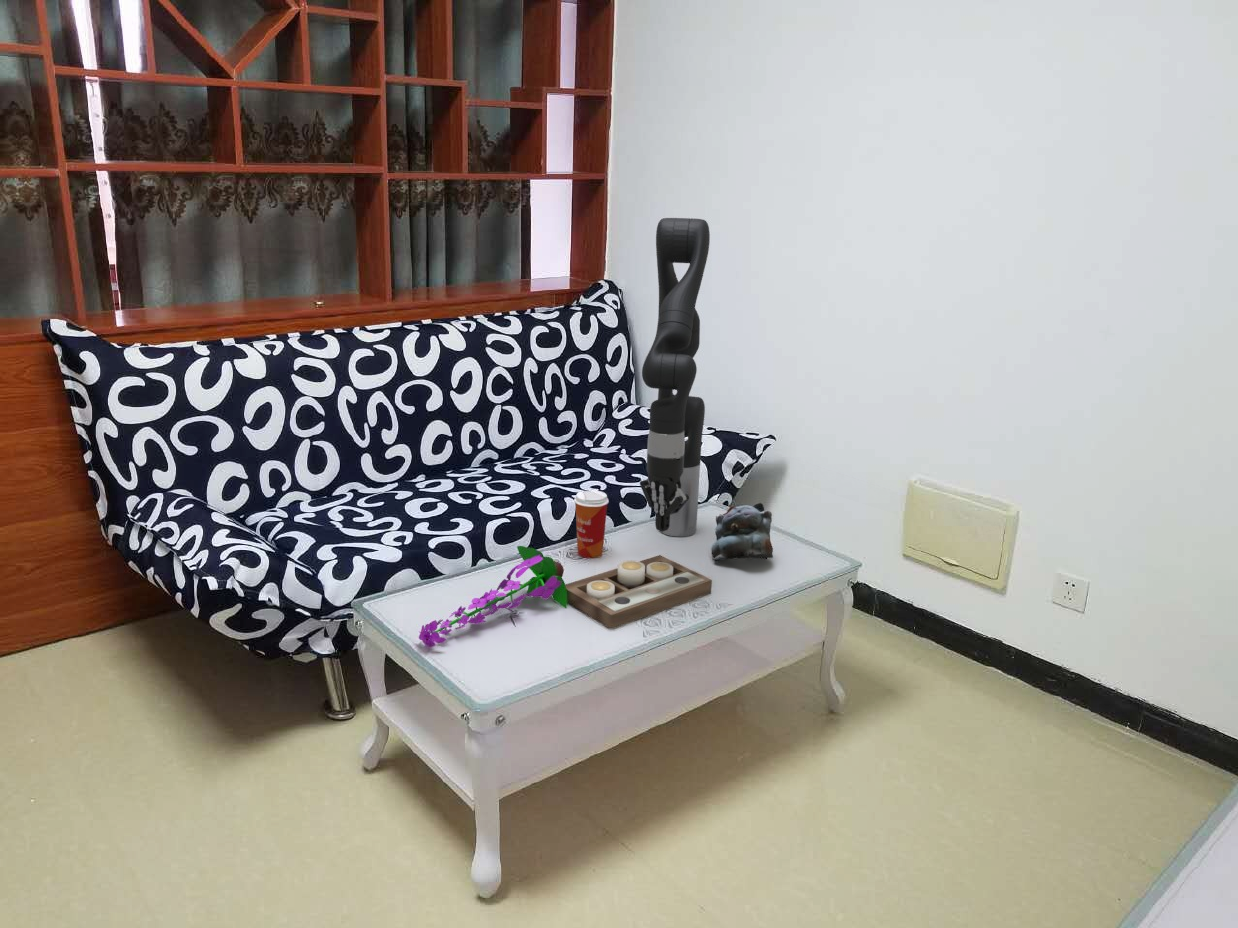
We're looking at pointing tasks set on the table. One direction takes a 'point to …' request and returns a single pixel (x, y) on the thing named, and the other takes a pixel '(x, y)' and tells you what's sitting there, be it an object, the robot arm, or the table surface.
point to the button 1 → (600, 589)
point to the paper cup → (590, 522)
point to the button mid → (631, 572)
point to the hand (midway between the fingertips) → (662, 529)
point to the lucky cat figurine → (743, 533)
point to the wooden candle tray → (638, 594)
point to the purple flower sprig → (538, 586)
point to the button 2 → (659, 570)
